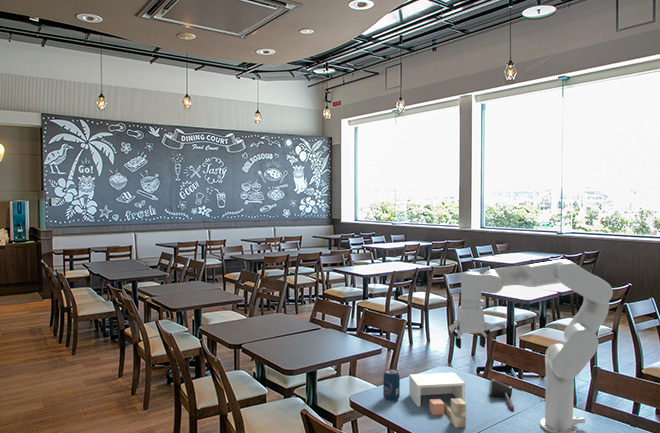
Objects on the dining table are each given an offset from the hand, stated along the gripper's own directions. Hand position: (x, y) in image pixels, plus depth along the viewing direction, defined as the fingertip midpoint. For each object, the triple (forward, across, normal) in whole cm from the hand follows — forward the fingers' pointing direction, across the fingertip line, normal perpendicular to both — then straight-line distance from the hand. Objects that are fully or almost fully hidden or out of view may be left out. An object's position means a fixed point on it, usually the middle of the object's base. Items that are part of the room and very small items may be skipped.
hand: (470, 347), depth 188 cm
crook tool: (+28, +8, -2) cm, 29 cm away
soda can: (+28, +26, -21) cm, 44 cm away
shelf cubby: (+28, +7, -18) cm, 34 cm away
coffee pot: (+29, -20, -13) cm, 38 cm away
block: (+28, +11, -6) cm, 31 cm away
